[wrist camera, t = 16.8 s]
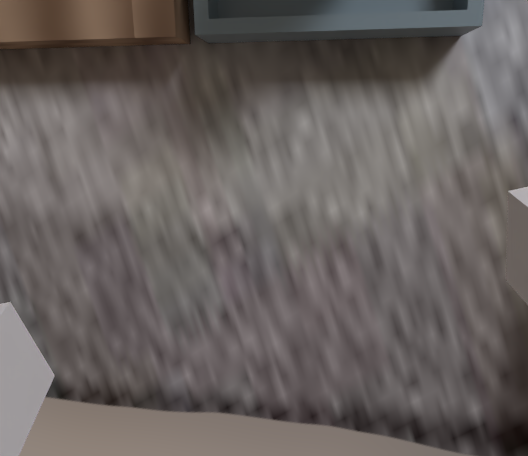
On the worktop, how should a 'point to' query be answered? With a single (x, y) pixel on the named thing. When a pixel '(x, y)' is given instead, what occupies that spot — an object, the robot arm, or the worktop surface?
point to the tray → (332, 19)
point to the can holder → (92, 23)
